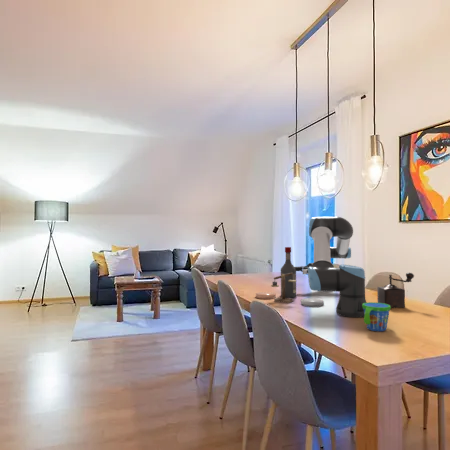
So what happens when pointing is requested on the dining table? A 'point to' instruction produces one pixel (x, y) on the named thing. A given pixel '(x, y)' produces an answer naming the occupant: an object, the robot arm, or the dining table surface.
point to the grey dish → (312, 302)
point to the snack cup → (376, 315)
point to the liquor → (286, 269)
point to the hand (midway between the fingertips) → (294, 271)
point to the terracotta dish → (265, 295)
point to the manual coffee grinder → (393, 293)
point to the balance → (283, 288)
